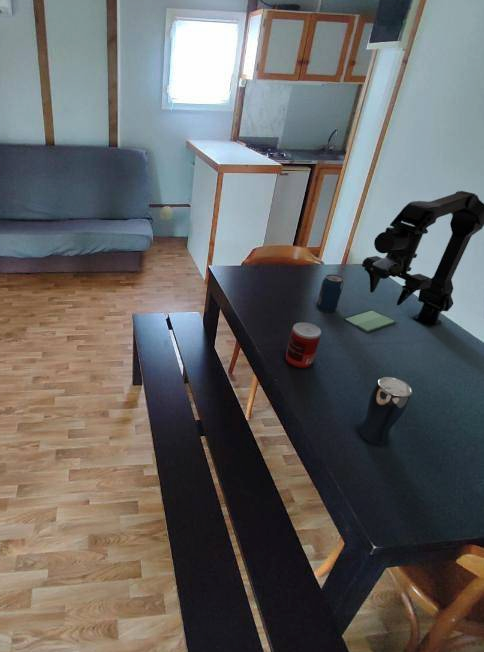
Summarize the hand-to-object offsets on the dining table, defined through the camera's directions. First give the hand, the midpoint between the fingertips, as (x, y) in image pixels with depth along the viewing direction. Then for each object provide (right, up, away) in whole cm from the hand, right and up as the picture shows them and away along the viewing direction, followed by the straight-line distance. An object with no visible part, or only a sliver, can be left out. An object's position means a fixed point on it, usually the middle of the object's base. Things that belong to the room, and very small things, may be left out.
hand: (384, 298), depth 124 cm
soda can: (-7, -1, +25) cm, 26 cm away
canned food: (-27, -19, -3) cm, 33 cm away
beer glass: (-19, -35, -27) cm, 48 cm away
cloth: (+5, -6, +17) cm, 19 cm away
